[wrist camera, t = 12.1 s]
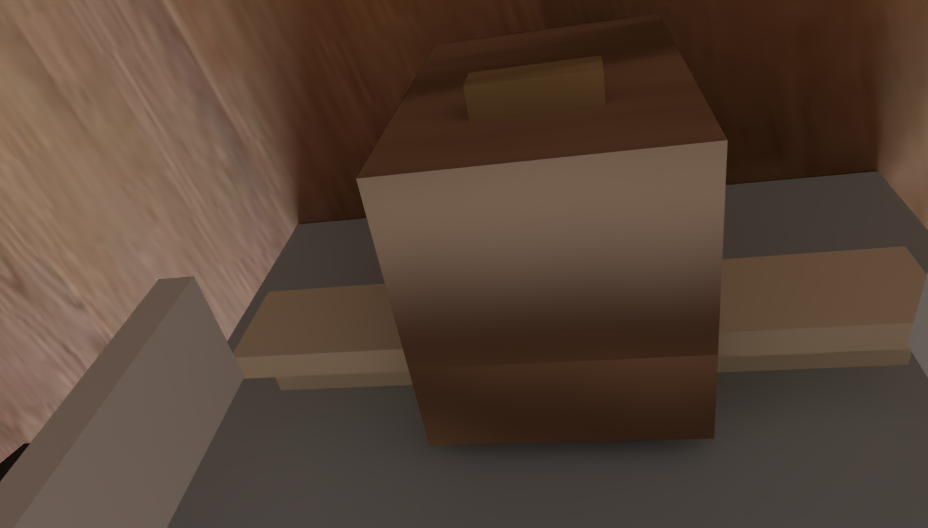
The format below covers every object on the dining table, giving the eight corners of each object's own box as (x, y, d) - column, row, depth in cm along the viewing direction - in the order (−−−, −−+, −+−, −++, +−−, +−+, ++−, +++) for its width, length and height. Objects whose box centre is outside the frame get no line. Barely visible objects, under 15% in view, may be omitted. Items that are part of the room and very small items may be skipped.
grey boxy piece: (277, 169, 29) (-13, 560, 14) (891, 102, 24) (1404, 578, 9) (345, 354, 35) (190, 763, 20) (846, 329, 30) (1119, 835, 15)
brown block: (430, 19, 21) (345, 141, 13) (658, -15, 20) (729, 96, 11) (473, 253, 26) (432, 456, 17) (661, 239, 24) (713, 450, 16)
